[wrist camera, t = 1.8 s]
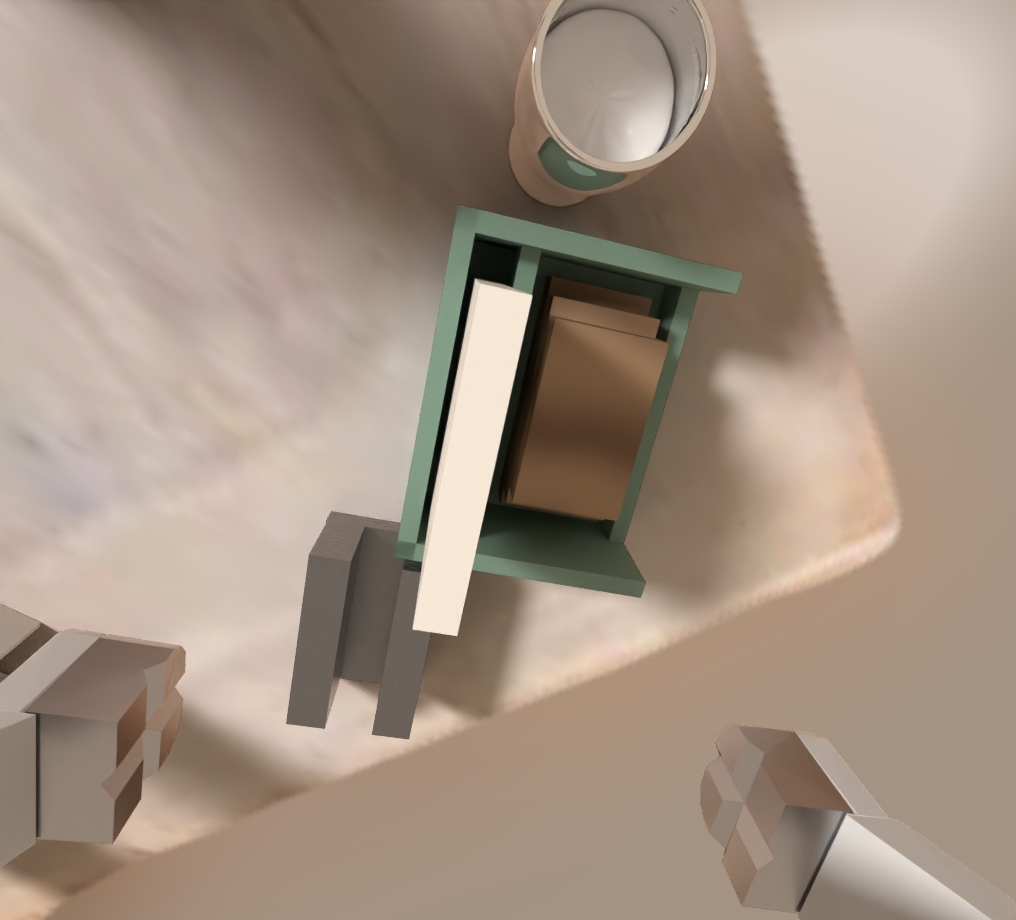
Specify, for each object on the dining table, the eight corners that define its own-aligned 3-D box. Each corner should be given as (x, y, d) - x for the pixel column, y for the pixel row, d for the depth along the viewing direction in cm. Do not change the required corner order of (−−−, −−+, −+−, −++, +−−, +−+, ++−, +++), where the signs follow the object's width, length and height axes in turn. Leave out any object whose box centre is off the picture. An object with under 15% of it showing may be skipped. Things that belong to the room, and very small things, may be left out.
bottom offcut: (546, 275, 36) (552, 276, 34) (641, 297, 37) (652, 299, 35) (498, 490, 40) (500, 503, 38) (584, 505, 41) (591, 519, 39)
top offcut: (549, 314, 32) (555, 318, 30) (655, 338, 33) (669, 343, 31) (509, 487, 35) (512, 502, 33) (607, 505, 36) (617, 521, 34)
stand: (331, 511, 41) (307, 554, 35) (447, 531, 42) (444, 576, 36) (309, 660, 44) (284, 723, 38) (418, 675, 45) (410, 739, 39)
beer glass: (486, 192, 36) (499, 139, 21) (522, 63, 34) (563, -89, 19) (595, 230, 37) (678, 205, 22) (636, 107, 35) (755, -6, 20)
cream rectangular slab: (473, 276, 36) (480, 283, 18) (499, 282, 36) (532, 295, 18) (437, 464, 39) (412, 629, 21) (461, 468, 40) (456, 636, 21)
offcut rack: (459, 220, 36) (458, 204, 27) (680, 272, 38) (743, 273, 29) (409, 497, 41) (394, 557, 32) (605, 532, 43) (641, 597, 34)
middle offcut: (548, 294, 34) (553, 295, 32) (647, 316, 35) (660, 319, 33) (503, 488, 38) (505, 502, 35) (595, 505, 38) (603, 520, 36)
